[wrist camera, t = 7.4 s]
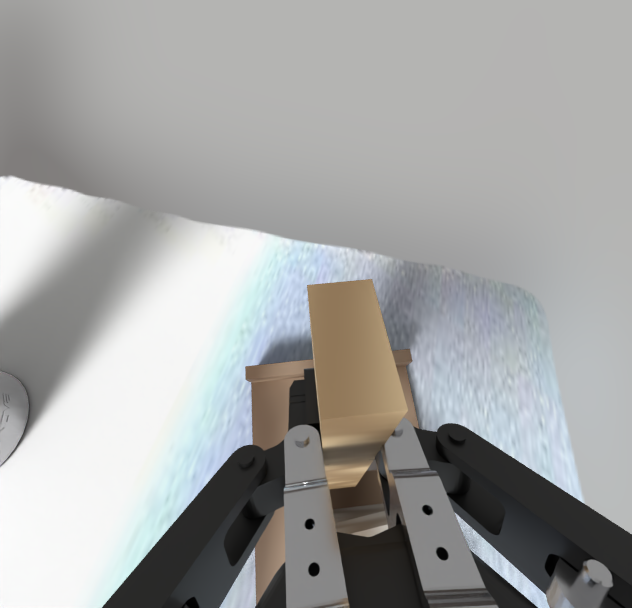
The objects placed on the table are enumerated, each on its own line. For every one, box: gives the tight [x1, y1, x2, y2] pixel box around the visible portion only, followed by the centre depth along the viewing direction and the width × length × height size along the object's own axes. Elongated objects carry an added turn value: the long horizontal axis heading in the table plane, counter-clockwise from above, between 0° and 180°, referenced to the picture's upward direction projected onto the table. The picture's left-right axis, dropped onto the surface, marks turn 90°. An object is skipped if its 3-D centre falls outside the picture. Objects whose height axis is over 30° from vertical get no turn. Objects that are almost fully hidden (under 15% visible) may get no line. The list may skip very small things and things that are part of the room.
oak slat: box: [307, 279, 408, 490], centre depth 14 cm, size 2×4×16 cm, turn 6°
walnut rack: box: [245, 349, 419, 605], centre depth 21 cm, size 13×17×3 cm
